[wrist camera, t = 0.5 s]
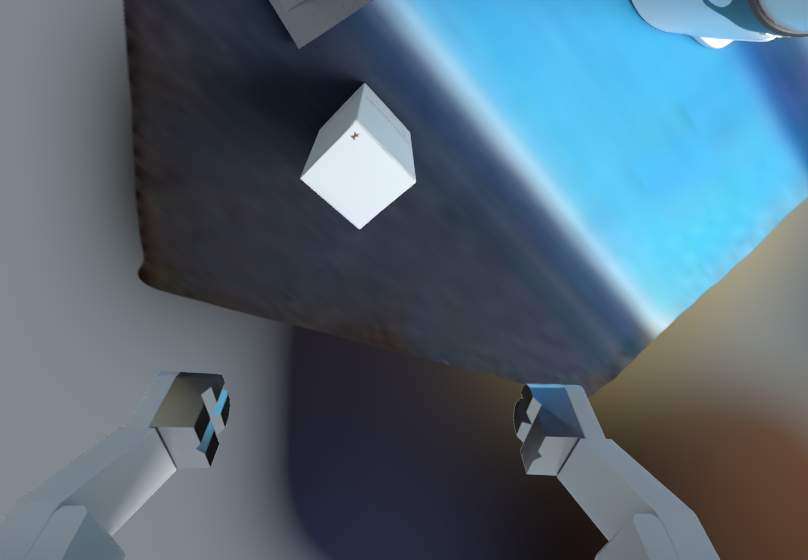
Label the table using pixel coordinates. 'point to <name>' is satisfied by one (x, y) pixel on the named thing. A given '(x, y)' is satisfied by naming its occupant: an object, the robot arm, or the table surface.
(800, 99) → the table surface
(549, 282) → the table surface
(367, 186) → the supplement box
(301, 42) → the stand
